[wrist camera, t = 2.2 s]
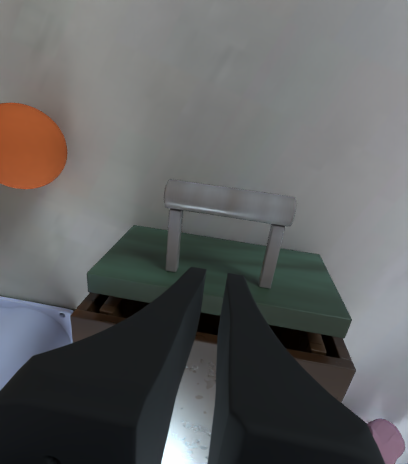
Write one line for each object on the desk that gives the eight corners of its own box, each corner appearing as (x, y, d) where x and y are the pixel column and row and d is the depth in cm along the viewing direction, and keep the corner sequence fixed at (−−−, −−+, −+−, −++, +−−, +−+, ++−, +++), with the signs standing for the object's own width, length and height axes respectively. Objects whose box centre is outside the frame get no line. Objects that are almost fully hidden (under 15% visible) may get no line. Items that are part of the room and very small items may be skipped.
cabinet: (129, 245, 22) (69, 315, 15) (317, 276, 21) (356, 370, 13) (129, 368, 27) (84, 465, 20) (278, 398, 26) (291, 514, 19)
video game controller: (366, 387, 26) (367, 443, 20) (408, 433, 25) (424, 507, 19) (289, 433, 30) (271, 492, 24) (323, 475, 29) (312, 548, 23)
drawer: (134, 154, 18) (79, 176, 12) (342, 183, 17) (392, 222, 11) (132, 352, 25) (96, 427, 19) (280, 381, 24) (291, 470, 18)
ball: (19, 174, 21) (-44, 192, 16) (8, 99, 19) (-68, 96, 14) (84, 183, 20) (38, 204, 16) (79, 108, 18) (25, 107, 14)
